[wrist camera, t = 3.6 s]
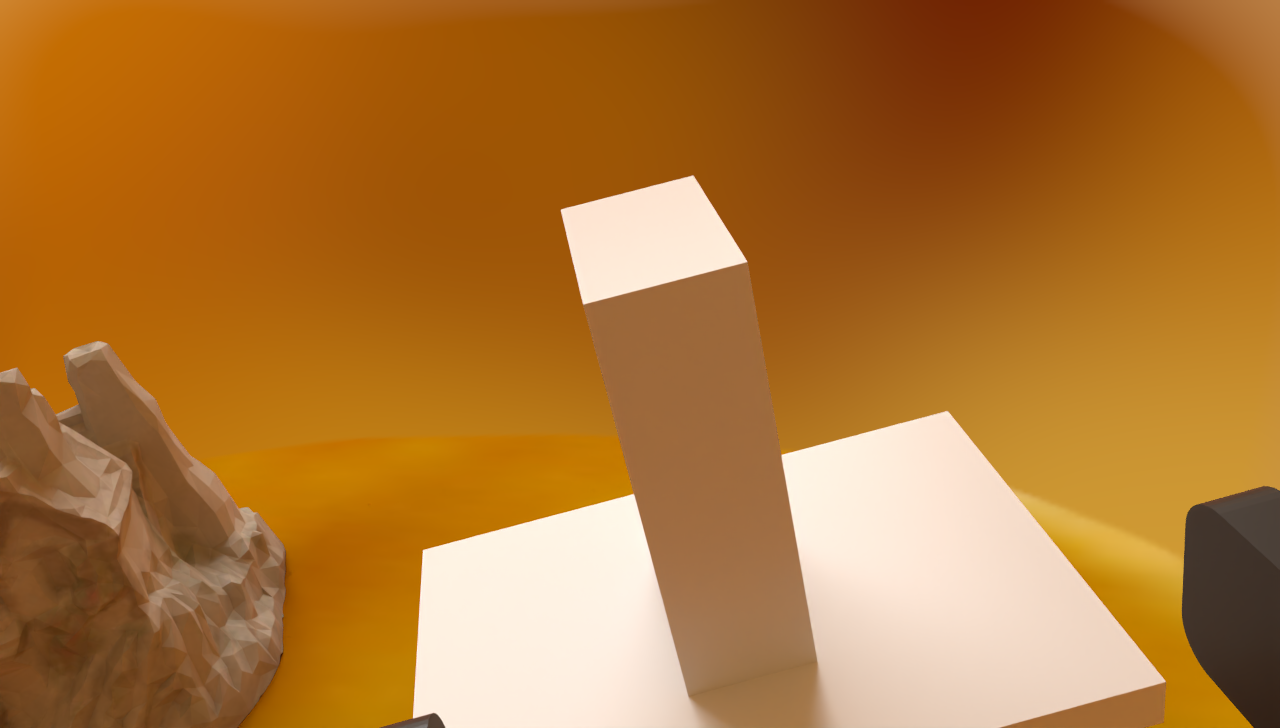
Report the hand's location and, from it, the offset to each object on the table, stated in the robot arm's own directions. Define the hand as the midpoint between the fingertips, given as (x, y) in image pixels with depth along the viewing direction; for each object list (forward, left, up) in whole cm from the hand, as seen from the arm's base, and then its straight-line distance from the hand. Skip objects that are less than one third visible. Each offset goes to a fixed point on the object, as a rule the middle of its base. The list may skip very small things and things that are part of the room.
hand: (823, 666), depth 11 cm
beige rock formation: (-19, +29, -18) cm, 39 cm away
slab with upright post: (+2, +11, -12) cm, 17 cm away
